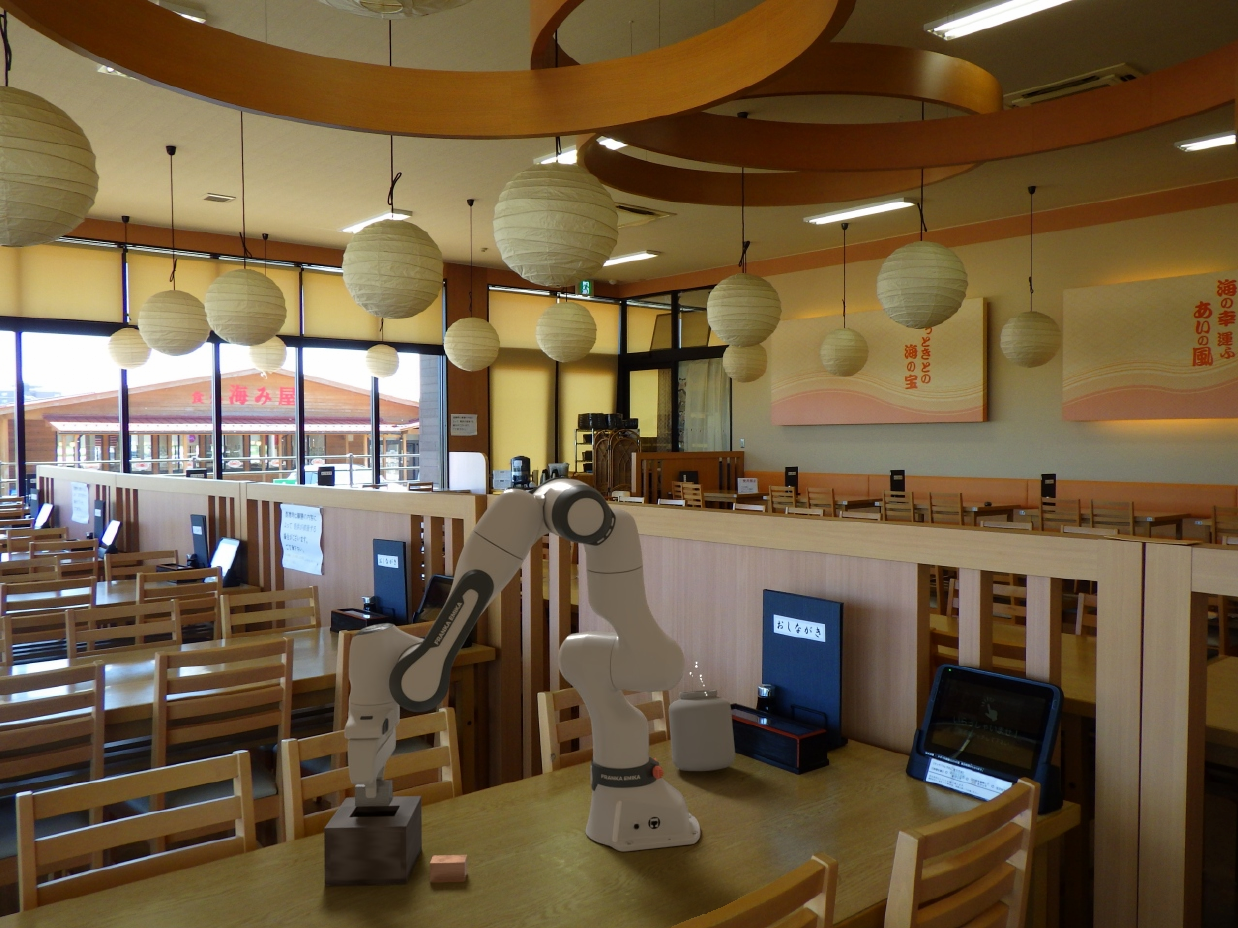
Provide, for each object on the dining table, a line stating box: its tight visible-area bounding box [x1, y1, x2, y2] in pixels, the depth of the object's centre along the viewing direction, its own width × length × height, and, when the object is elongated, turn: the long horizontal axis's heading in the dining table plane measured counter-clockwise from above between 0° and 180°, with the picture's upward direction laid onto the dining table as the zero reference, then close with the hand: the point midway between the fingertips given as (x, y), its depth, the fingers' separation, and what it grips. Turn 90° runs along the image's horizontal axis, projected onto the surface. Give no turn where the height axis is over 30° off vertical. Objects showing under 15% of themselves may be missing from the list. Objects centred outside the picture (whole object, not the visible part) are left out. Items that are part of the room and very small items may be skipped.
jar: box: [668, 661, 736, 772], centre depth 210 cm, size 19×15×25 cm
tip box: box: [323, 795, 423, 887], centre depth 159 cm, size 14×14×10 cm
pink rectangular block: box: [429, 854, 468, 883], centre depth 155 cm, size 6×3×4 cm, turn 92°
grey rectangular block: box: [354, 779, 394, 806], centre depth 159 cm, size 6×3×4 cm, turn 92°
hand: (374, 791), depth 159 cm, fingers closed on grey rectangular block, 3 cm apart
